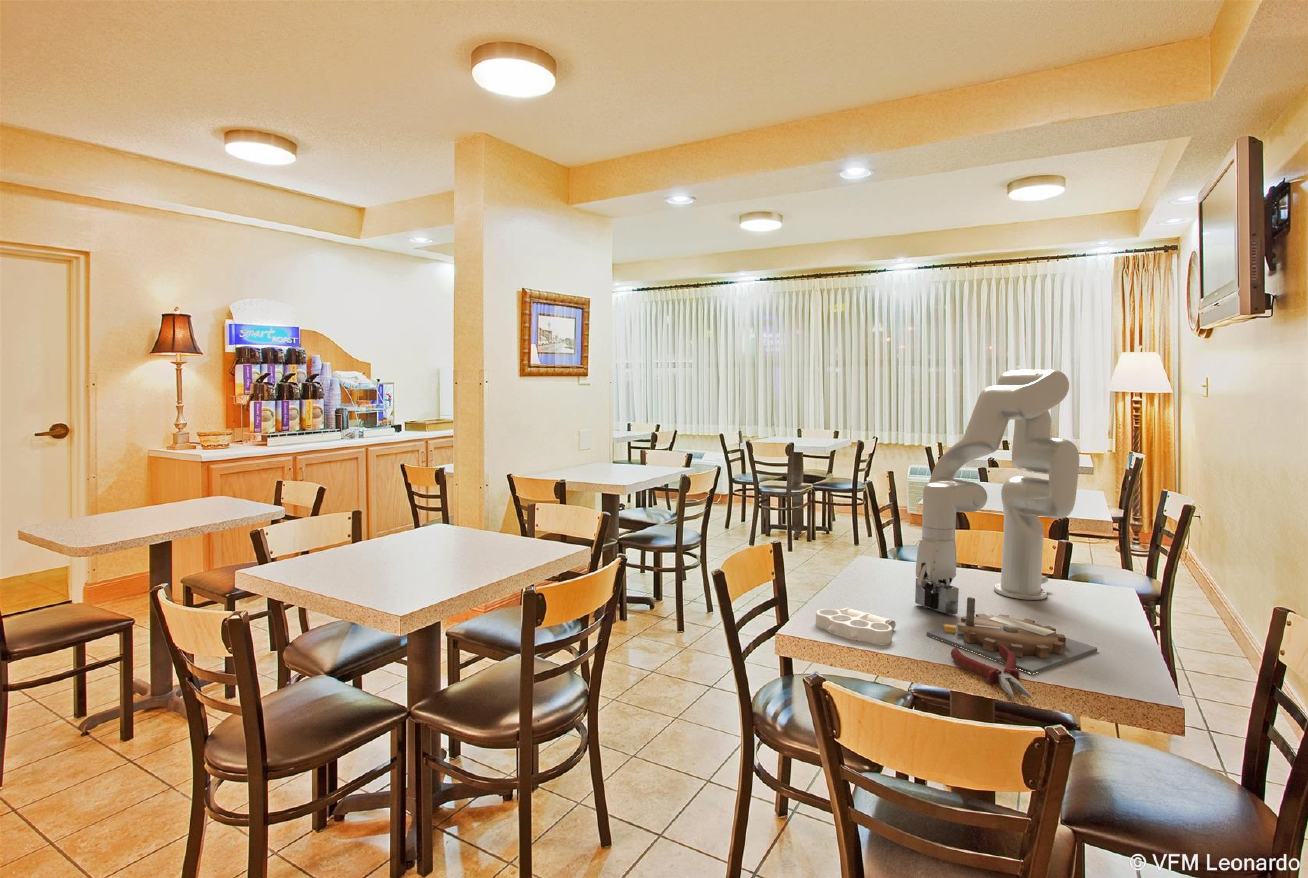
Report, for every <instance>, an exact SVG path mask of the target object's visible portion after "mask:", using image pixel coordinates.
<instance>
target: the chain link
mask: <svg viewBox="0 0 1308 878" xmlns="http://www.w3.org/2000/svg"><path fill="white" fill-rule="evenodd" d="M917 580H918V577H916V578H915V590H914V591H915V594H914V595H915V596H914V603H915V604H917V605H920V606H922V607H925V605H924V600H925V591H923V587H922V586H921V585H919V584H918V583H917ZM929 584H930V585H932V583H931V582H929ZM959 591H960V589H959V587H957V586H955V585H951V584H950V585H947V584H944V583H941V582H937V584H936V592H935V593H937V609H933V610H935V611H938V612H941V613H942V614H943V613H944V614H946V615H951V616H952V615H953V616H954V615H958V613H959V595H960V594H959V593H960V592H959Z"/></svg>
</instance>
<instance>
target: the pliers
mask: <svg viewBox="0 0 1308 878" xmlns="http://www.w3.org/2000/svg"><path fill="white" fill-rule="evenodd" d="M999 654H1000V656H1001V658H1002V659H1004V660H1005V661H1006V665H1004V669H1003V672H1002V670H1000V669H999V668H997V667H992V666H990V665H988V664H985V663H983V662H980V661H978V660H975V659H973V658H971V657H968V656H966V655H964V654H963V653H962V652H961V650H959V648H958V647H954V648H952V649H951V650H950V656H951V659H952V660H953V661H954V663H955V664H956V666H958V665H959V666H958V667H960V668H961V667H962V670H963V669H964V670H966V671H967V672H970V673H971V674H972V673H973V674H975V675H977V676H980V677H982V678H984V679H986V681H987V684H988V685H991V686H994V685H1000V687H1001V689H1002V690H1003V691H1004V692H1005V693H1007V694H1008V695H1009V696H1010V698H1012V699H1013V700H1016V698H1015V695H1014V693H1013V690H1014V691H1016V692H1017V693H1018V694H1021V695H1023V696H1025V697H1027V698H1029V699H1031V698H1032V695H1031V694H1030V693H1029V691H1028V690H1027V689H1026V688H1025V686H1024V685H1023V684H1022V683H1021V681H1020V670H1017V669H1015V667H1016V657H1015V655H1014V654H1013V653H1012V652H1011V651H1010V650H1009V649H1008V648H1006V647H1005V646H999ZM1012 688H1013V690H1012Z"/></svg>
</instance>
